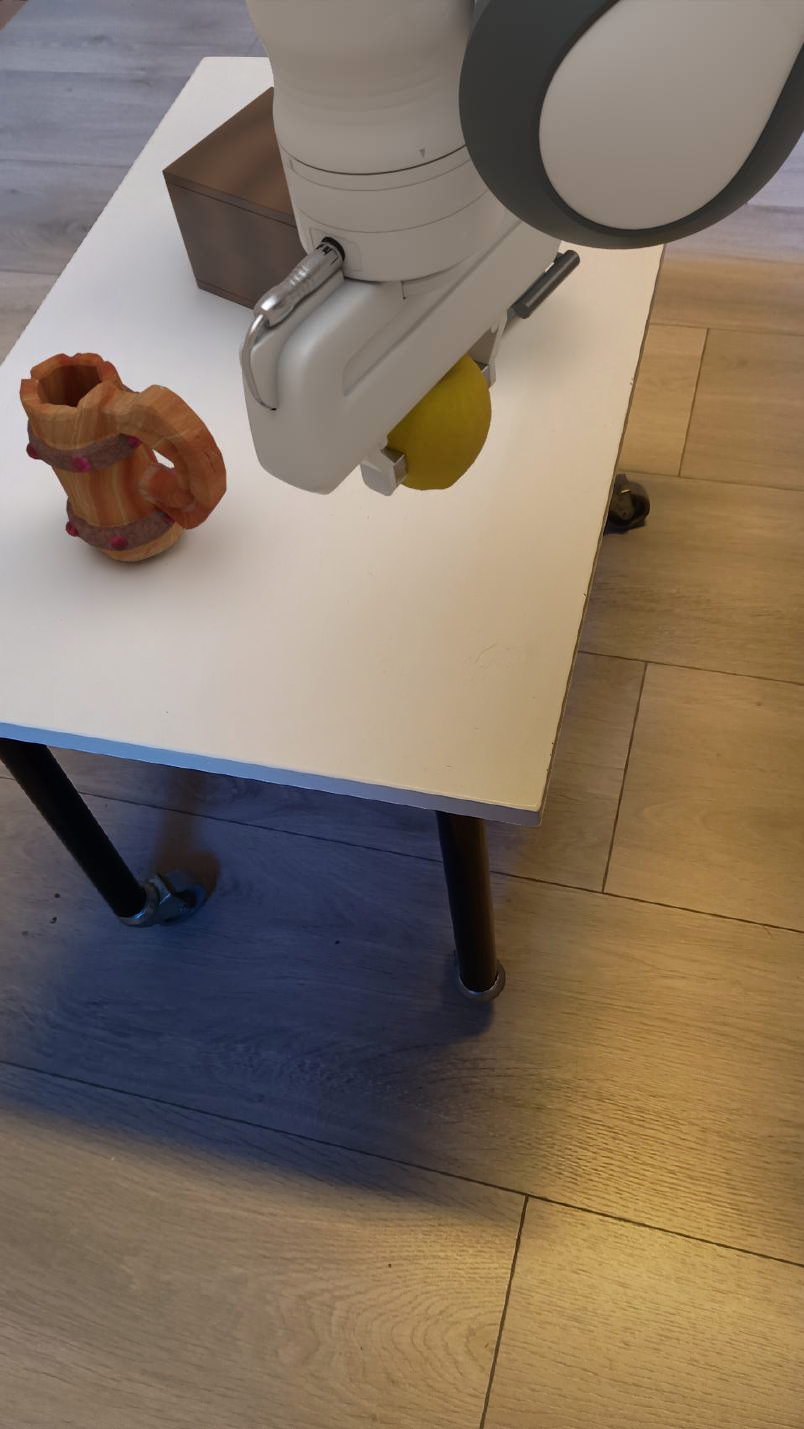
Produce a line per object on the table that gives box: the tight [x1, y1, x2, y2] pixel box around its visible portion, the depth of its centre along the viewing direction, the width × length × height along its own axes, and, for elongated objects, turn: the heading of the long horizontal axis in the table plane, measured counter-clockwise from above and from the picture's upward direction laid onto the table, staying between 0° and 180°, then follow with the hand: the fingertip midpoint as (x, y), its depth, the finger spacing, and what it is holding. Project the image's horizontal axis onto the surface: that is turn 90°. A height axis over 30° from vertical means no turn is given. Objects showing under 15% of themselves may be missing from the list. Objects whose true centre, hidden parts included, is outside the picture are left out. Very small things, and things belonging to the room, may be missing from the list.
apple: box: [386, 353, 493, 492], centre depth 56 cm, size 6×6×8 cm
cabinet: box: [161, 86, 308, 310], centre depth 93 cm, size 17×14×11 cm
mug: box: [18, 352, 228, 562], centre depth 75 cm, size 15×8×15 cm, turn 62°
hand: (432, 434), depth 57 cm, fingers closed on apple, 6 cm apart
